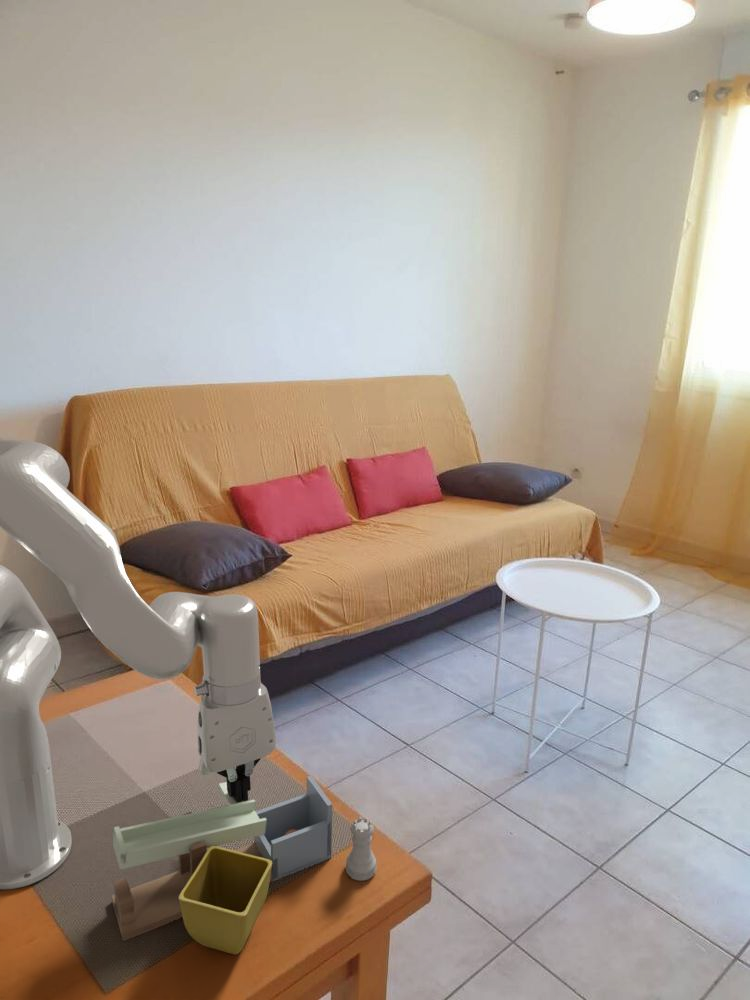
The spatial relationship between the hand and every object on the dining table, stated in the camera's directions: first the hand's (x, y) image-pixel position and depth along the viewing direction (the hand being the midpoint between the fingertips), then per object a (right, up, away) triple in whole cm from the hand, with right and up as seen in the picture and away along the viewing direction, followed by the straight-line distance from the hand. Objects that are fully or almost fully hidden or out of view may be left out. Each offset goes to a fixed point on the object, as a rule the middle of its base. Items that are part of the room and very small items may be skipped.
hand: (239, 796), depth 103 cm
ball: (+8, -7, +1) cm, 10 cm away
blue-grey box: (+8, -9, +1) cm, 12 cm away
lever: (-6, -1, -6) cm, 9 cm away
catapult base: (-5, -10, -6) cm, 13 cm away
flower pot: (+1, -13, -12) cm, 18 cm away
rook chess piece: (+18, -10, -1) cm, 20 cm away
